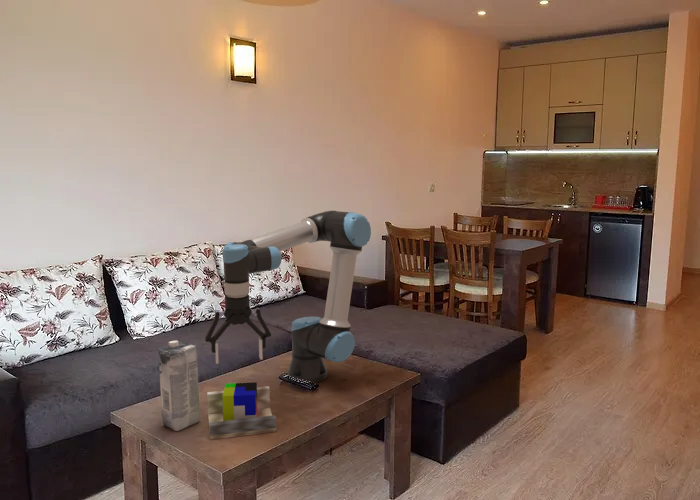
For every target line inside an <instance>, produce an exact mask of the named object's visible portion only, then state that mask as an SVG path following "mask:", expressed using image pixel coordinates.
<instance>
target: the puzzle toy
mask: <svg viewBox="0 0 700 500" xmlns="http://www.w3.org/2000/svg"><path fill="white" fill-rule="evenodd" d="M257 385H258V383H257V381H256V382H253V381H252V382H232V383H225V385H224V389H223V391H224V392H223V421H229V420H238V419H246V418H255V417H257V387H258V386H257Z"/></svg>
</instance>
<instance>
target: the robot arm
mask: <svg viewBox="0 0 700 500" xmlns="http://www.w3.org/2000/svg"><path fill="white" fill-rule="evenodd" d="M371 227H372V226H371V224H370V222H369V221H368V218H367V217H366V216H365V215H363V214H360V213H358V212H357V213H356V212H351V211H350V212H349V211H339V210H338V211H337V210H326V211H323V212H319V213H316V214H313V215H309V216H306V217H304V218H302V220H301V221H300V222H298V223H295V224H292V225H289V226H287V227H283V228H279V229H277V230H274V231H271V232H267V233H265V234H262V235H258V236H256V237H253V238H250V239H246V240H244V241H240V242H238V241H232V242H227V243H226V244H225V245H224V246H223V248H222V253H221V254H222V255H221V256H222V262H223V281H224V283H223V284H224V285H223V286H224V294H225V296H224V303H225V304H224V307H225V308H224V311H221V310H220V311H219V310H218V309H217V310H215V311H214V317H213V319H212V322H211V323H210V326H209V328H208V330H207V332H206V335H205V337H204V339H205V343H206V342H207V343H210V344H211V353H214V355H215V364H217V365H218V364H219V363H220V361H219V343H218V340H219V338H221V336H222V335H223V333H224V332H225V331H226V329H228V328H229V327H230V325H233V326H236V325H244V324H245V323H246V324H247V325H248V326H249V327H250V328H251V329H252V330H253V331H254V332H255V333H256V334H257V335H258V358H259V360H260V361H262V360H263V359H264V357H263V349H266V345H267V343H266V339H267V338H269V337H271V336H272V333H271V331H270V329H269V327H268V326H267V323H266V321H265V320H264V318H263V317H262V315H261V314H262V313H261V310H260V308H259V307H255V308H252V309H251V303H250V299H251V298H250V275H251V274H255V273H256V274H257V273H262V272H270V271H274V270H276V269H278V268H279V267H280V266H281V264H282V254H281V252H283V251H286V250H288V249H292V248H294V247H296V246H301V245H303V244H305V243H309V244H312V243H313V244H314V243H316V242H330V244H329V245H330V246H329V248H330V249H331V251H332V252H333V253H332V259H331V266H330V267H331V268H330V273H329V282H328V288H327V293H326V294H327V295H326V302H325V309H324V314H323V315H324V316H323V317H320V316H304V317H300V318H296V319H294V320H293V321H292V323H291V330H290V331H291V360H290V363H289V365H288V369H287V376H288V375H289V376H291V377H294V378H298V379H304V380H307V381H311V382H315V383H314V384H316V383H320V382H323V381H324V380H326V379H327V378H328V370H327V366H326V364H325V360H327V361H330V362H334V363H342V362H344V361H346V360H347V359H348V358H349V357H350V356H351V355H352V353H353V351H354V348H355V345H356V339H355V337H354V334H352V332H351V326H352V325H351V324H350V322H349V321H348V318H349V313H350V312H349V311H350V305H351V299H352V298H351V296H352V290H353V284H354V277H355V271H356V270H355V269H356V264H357V263H356V262H357V256H358V255H359V254H360V253H361V252H362V250H363V247H364V246H366V245H367V244H368V242H369V241H370V239H371V237H372V228H371ZM252 314H253V315H254V316H255V317H257V320H258V321H259V323H260V325H261V327H262V328H263V330H264V332H263V331H262V330H261V329H260V327H258V326H257V325H256V323H254V322H253V321H252V320H251V319H250V316H252ZM223 316H224V318H226V319H225V320H224V322H223V323H222V324H221V326H220V327H219V328H218V329H217V330H216V332H215V329H216V327H217V326H218V323H219V321H220V319H222V317H223ZM214 332H215V333H214ZM213 334H214V335H213ZM324 359H325V360H324Z"/></svg>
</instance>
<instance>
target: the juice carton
mask: <svg viewBox="0 0 700 500" xmlns="http://www.w3.org/2000/svg"><path fill="white" fill-rule="evenodd" d="M157 350H158V368H159V370H158V371H159V385H160V386H159V387H160V388H159V389H160V403H161V418H162V423H163V425H164V426H165V427H167V428H170V429H171V430H174V431H176V432H180V431H181V430H184V429H185V428H187V427H190V426H193V425H195V424H197V423H199V422H200V395H199V394H200V391H199V390H200V389H199V372H198V371H199V365H198V346H197V345H194V344H191V343H189V342H185V341H178V340H171V341H168V346H162V347H159V348H158V349H157Z"/></svg>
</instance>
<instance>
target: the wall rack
mask: <svg viewBox="0 0 700 500" xmlns="http://www.w3.org/2000/svg"><path fill="white" fill-rule="evenodd" d="M223 392H224V390H216V391H207V393H206V394H207V415H208V430H209V431H208V432H209V440H219V439H225V438H226V439H227V438H235V437H242V436H251V435H261V434H266V433H275V432H277V416H276V415H275V414H272V410H271V405H270V404H271V401H270V400H271V397H270V396H271V395H270V385H265V386H259V387H258V386H257V417H255V418H246V419H238V420H229V421H223Z"/></svg>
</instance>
